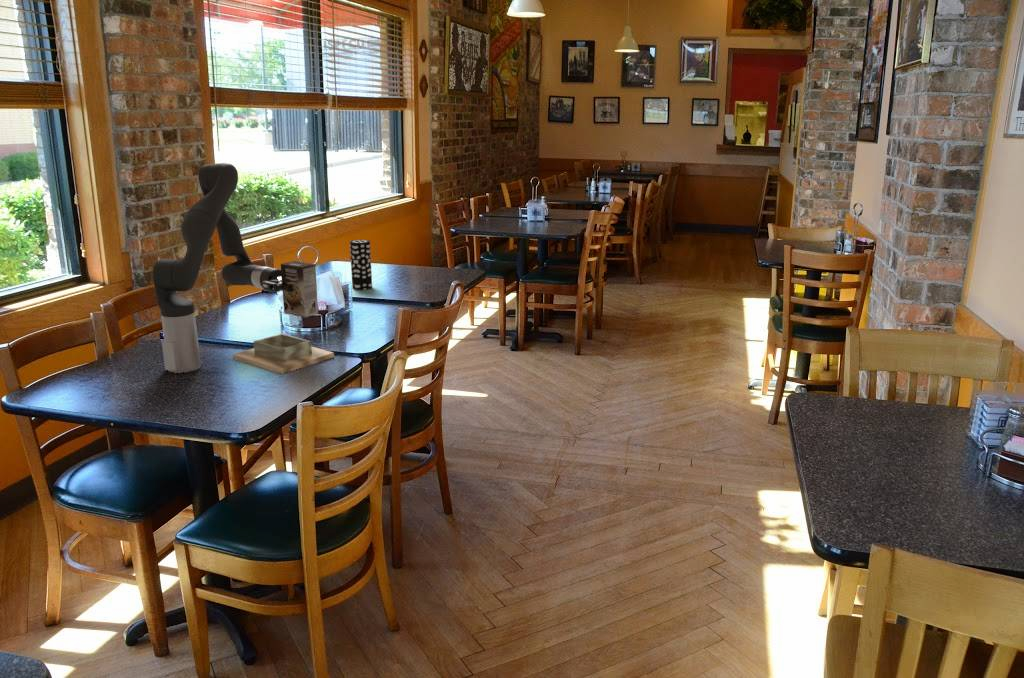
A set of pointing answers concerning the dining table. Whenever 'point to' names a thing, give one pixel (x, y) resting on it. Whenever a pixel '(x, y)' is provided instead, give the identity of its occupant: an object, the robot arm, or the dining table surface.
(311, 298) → the coffee box
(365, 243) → the white-spotted black cylinder
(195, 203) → the robot arm
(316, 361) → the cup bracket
